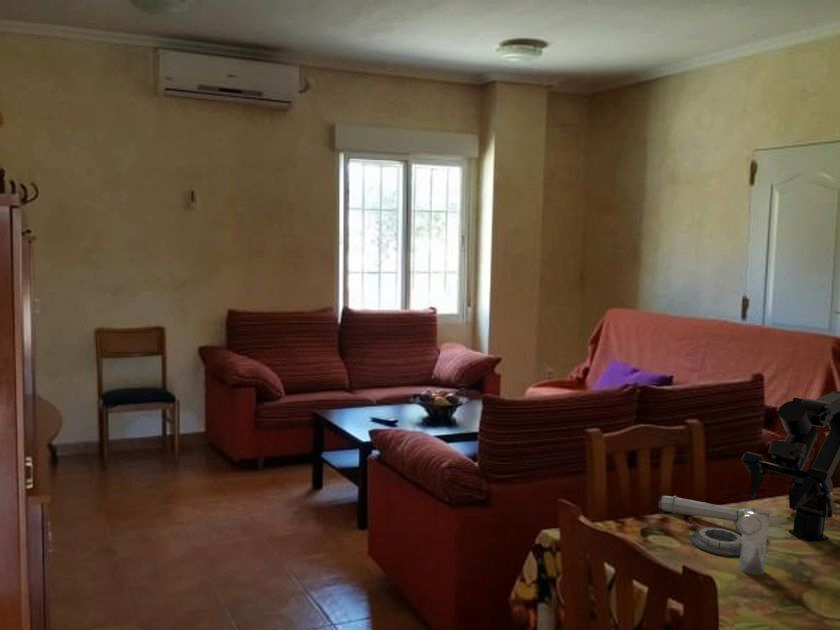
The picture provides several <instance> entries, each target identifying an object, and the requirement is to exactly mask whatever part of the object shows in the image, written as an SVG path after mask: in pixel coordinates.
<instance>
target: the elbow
mask: <svg viewBox="0 0 840 630" xmlns="http://www.w3.org/2000/svg"><path fill="white" fill-rule="evenodd" d="M769 522H770V513H769V512H768V511H766V510H763V509H760V508H754V507H751V508H750V507H748V508H747V509H745V510H744V516H743V517H741V518H739V520H738V522H737V526H738V529H739V531H740V532H741V533H742V534H741V533H740V534H741V537H742V540H741V550H740V556H739V562H738V563H739V564H738V570H739V571H740V572H743V573H745V574H747V575H750V576H752V575H753V576H762V575H764V574H765V572H764V571H765V564H766V554H767V553H766V552H767V541H768V533H769V524H770V523H769Z"/></svg>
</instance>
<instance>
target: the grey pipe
mask: <svg viewBox="0 0 840 630" xmlns="http://www.w3.org/2000/svg"><path fill="white" fill-rule="evenodd" d="M658 508H659V510H661V511H663V512H668V513H672V514H673V515H675V514H682V515H688V516H696V517H701V518H711V519H717V520H725V521H731V522H733V525H734V526H735V533H737V534H740V535H742V533H741V532H740V531H739V529H738V526H737V522H738V520H739V518H741V517H743V516H744V510H745V509H747V508H745V507H744V508H734V507H729V506H724V505H723V506H722V505H718V504H713V503H709V502H704V501H703V502H702V501H698V500H694V499H686V498H681V497H678V496H677V495H674V496H669V495H661V496H660V497H659V500H658Z"/></svg>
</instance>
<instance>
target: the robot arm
mask: <svg viewBox="0 0 840 630" xmlns="http://www.w3.org/2000/svg"><path fill="white" fill-rule="evenodd" d="M777 413H778V415H779V419H780V420H781V423H782V426H783V428H784V430H785V432H786V433H787V436H786V437H785V440H777V439H773V438H771V441H770V444H769V446H768V447H769V448H768V450H767V451H768V452H767V453H768V454H770V455H772V456H771V460H772V461H773V462H774V463H772V462H768V461H766V460H765V457H764V455H763V454H760V453H755V452H752V451H746V452H745V453H743V454H742V457H741V462H742V465H743V466H744V468H745V470H746V472H747V473H749V474H750V494H749V495H750V498H751V499H755V497H756V496H757V494H758V493H759V490H760V488H761V486H762V484H763V482H764V480H765V477H764V475H766V474H767V472H770V473H774V474H777V475H778V474H779V475H782V476H786V477H790V478H794V479H795V480H793V483H792V484H791V485H790V487H789V490H788V503H789V505H788V506H789V509H791V510H792V511H795V516H794V518H793V528H792V529H788V532H789V533H791V534H792V535H794V536H796V537H798V538H801V539H802V540H805V541H807V542H817V541H824V540H825V541H826V540H829V536H827V535H826V534H824V531H825V522H826V519H827V518H829V519H830V518H831V519H832V518H833V517H834V516H833V514H834V511H835V509H834V508H835V504H834V502H833V499H832V496H831V495H832V494H831V492H832V490H833V487H834V486H833V485H834V483H833V481H832V479H831V478H832V476H833V474H834V472H835V470H836V468H837V465H838V463H839V461H840V390H831V391H830V392H829V393H827V394H825V395H823V396H821V397H818V398H815V399H812V398H799V397H793V399H792V400H790V401H786V402H785V403H783V404H782V405H780V406H779V408H778V412H777ZM826 426H828V427H829V431H828V433H827V435H826V437H825V439H824V441H823V443H822V446H821V447H820V449H819V451H818V453H817V456H816V457H815V458H814V462H813V463H812V465H811V467H809V468H808V470H807V471H806V470H803V469H804V467H805V465H806V463H807V464H808V463H809V461H810V457H809V456H810V454H811V451H812V449H813V446H814V445H815V443H817V442H818V436H819V434H818V432H817V430H816V428H815V427H820V428H825V427H826Z"/></svg>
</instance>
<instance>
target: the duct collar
mask: <svg viewBox="0 0 840 630" xmlns="http://www.w3.org/2000/svg"><path fill="white" fill-rule="evenodd" d="M741 540H742V535H741V534H740V533H737V532H736V531H733V530H728V529H725V528H722V527H721V528H720V527H704V528H701V530H699V531H696V532H693V533H692V534H691V536H690V543H691V544H692V545H693V546H695V547H696V548H697V549H699V550H701V551H703V552H706V553H709V554H712V555H716V556H722V557H729V558H730V557H733V558H735V557H739V558H740V550H741Z"/></svg>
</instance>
